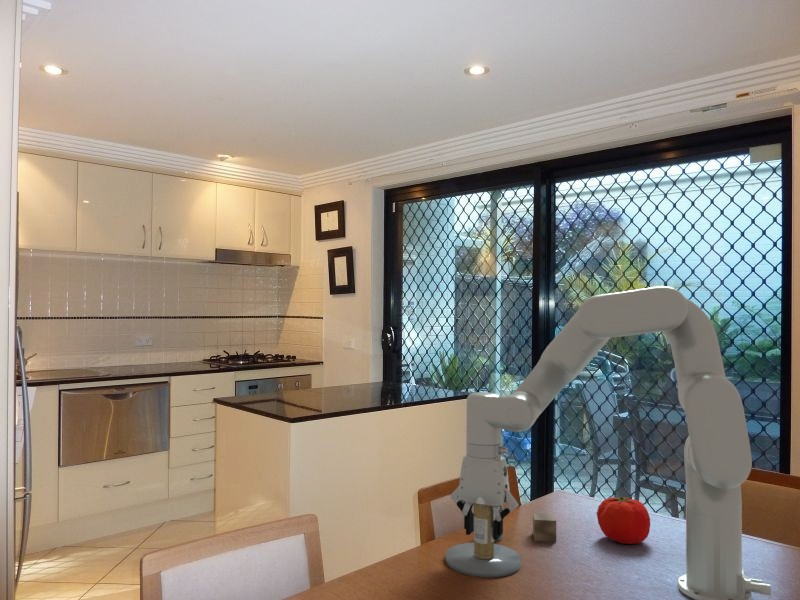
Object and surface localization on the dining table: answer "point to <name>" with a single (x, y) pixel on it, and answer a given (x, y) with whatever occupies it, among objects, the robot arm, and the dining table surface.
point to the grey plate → (483, 561)
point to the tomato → (624, 520)
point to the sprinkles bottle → (483, 530)
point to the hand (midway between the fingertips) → (483, 534)
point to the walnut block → (544, 527)
